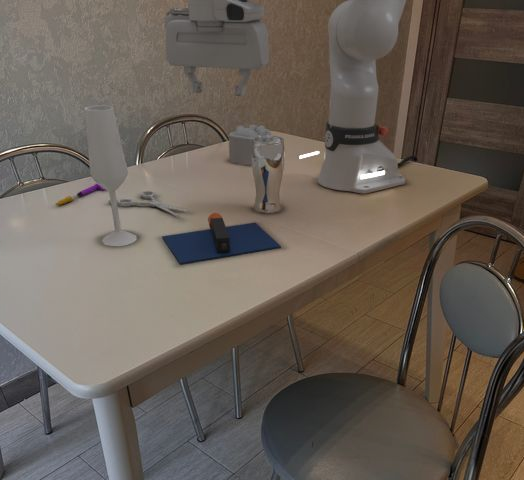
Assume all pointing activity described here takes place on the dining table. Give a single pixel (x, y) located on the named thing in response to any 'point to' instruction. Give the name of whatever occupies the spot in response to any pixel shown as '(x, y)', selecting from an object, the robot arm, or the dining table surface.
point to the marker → (219, 233)
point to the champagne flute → (107, 163)
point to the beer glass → (267, 172)
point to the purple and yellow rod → (80, 194)
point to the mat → (203, 247)
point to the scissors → (153, 203)
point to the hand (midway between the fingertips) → (218, 94)
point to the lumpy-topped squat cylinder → (244, 143)
